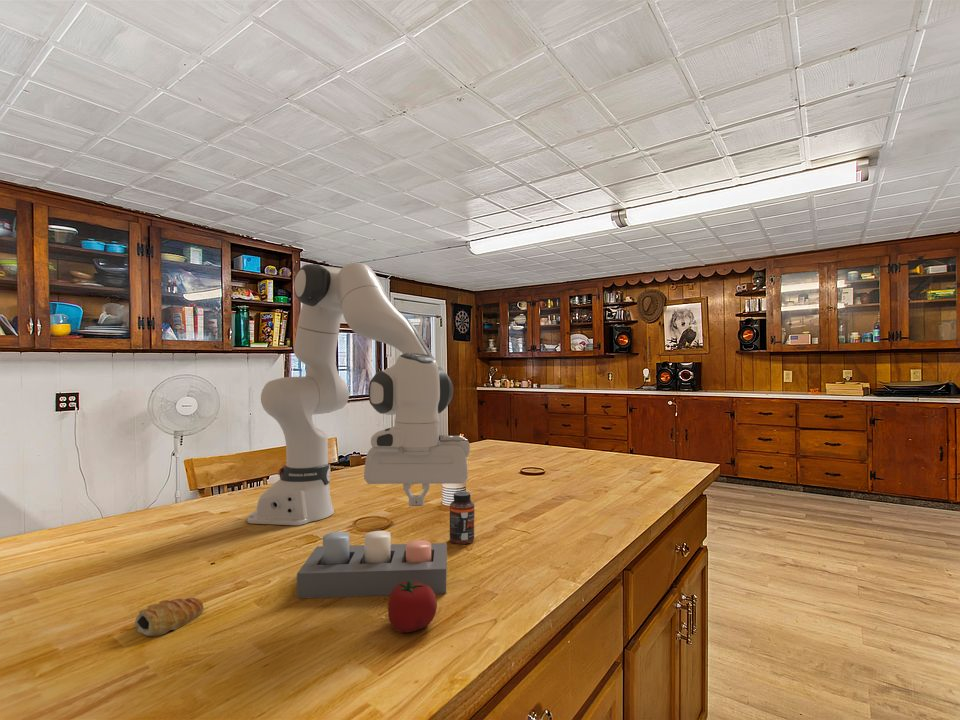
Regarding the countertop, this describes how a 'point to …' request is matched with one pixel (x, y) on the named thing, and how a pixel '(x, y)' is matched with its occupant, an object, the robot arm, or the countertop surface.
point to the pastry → (167, 616)
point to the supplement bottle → (462, 518)
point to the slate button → (336, 548)
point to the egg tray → (370, 573)
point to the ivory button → (377, 547)
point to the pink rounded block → (418, 551)
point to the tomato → (411, 606)
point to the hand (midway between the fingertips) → (416, 505)
